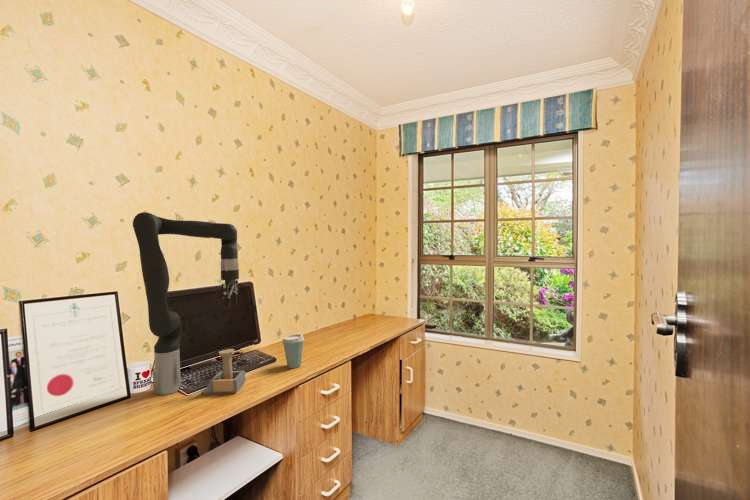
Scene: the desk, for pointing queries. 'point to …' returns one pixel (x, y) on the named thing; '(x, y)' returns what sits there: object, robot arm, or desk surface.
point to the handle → (227, 363)
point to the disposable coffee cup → (293, 349)
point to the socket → (225, 383)
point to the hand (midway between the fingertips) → (230, 305)
